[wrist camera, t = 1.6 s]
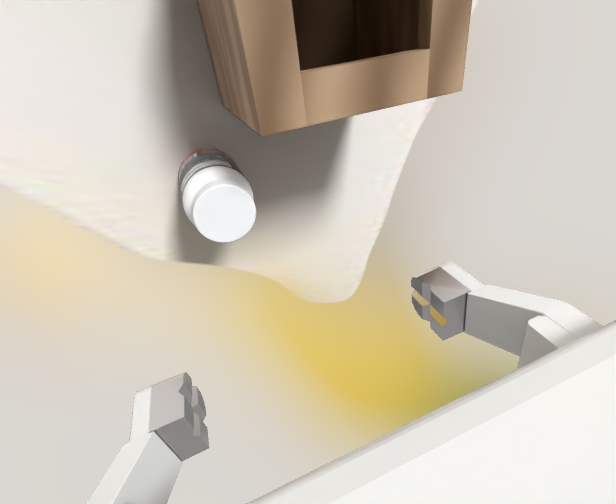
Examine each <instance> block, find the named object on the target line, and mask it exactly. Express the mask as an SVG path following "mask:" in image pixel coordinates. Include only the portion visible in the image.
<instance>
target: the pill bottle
mask: <svg viewBox="0 0 616 504" xmlns="http://www.w3.org/2000/svg"><path fill="white" fill-rule="evenodd" d="M178 180H179V186H180V192H181V197H182V203H183V208H184V211H185V213H186V215H187V217H188V218H189V220H190V221H191V222H192V223H193V224H194V225H195V226H196V228H197V229H198V231H199V232H200V233H201V234H202V235H203V236H204V237H206V238H208V239H210V240H212V241H215V242H223V243H225V242H232V241H235V240H238V239H240V238H241V237H243V236H244V235H246V234H247V233H248V232H249V230H250V229H251V228H252V226H253V224H254V222H255V218H256V207H255V203H254V197H253V192H252V188H251V186H250V184H249V182H248V181H247V179H246V178H245V177H244V175H243V174H242V172H241V171H240V170H239V168H238V167H237V165H236V164H235V163H234V161H233V160H232V159H231V158H230V157H229V156H228V155H226V154H225V153H223V152H221V151H219V150H215V149H200V150H197V151H194V152H192V153H191V154H189V155H188V156H187V157H186V158H185V159H184V160H183V162H182V164H181V166H180V168H179V173H178Z"/></svg>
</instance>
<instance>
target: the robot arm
mask: <svg viewBox="0 0 616 504" xmlns="http://www.w3.org/2000/svg"><path fill="white" fill-rule="evenodd" d="M411 286H412V287H413V288H414V289H415V290H414V292H413V294H412V303H413V305H414V308H415V310H416V311H417V313H418V314H419V315H420V317H421V318H422V319H424V320H427V321H430V323H431V328H432V330H433V331H435V333H436V334H437V335H438V336H439V337H440V338H441V339H442V340H445V339H447V338H450V337H452V336H454V335H457V334H459V333H461V332H465V333H467V334H469V335H472V336H474V337H476V338H478V339H481V340H483V341H485V342H487V343H490V344H492V345H495V346H497V347H499V348H501V349H504V350H506V351H509V352H511V353H513V354H516V355H518V356H520V358H519V362H518V367H517V369H516V370H514V371H512V372H511V373H508V374H506V375H504V376H502V377H500V378H498V379H497V380H494V381H492V382H490V383H488V384H486V385H484V386H482V387H480V388H478V389H476V390H474V391H472V392H470V393H468V394H466V395H464V396H462V397H460V398H458V399H456V400H454V401H452V402H450V403H448V404H446V405H444V406H442V407H440V408H438V409H436V410H434V411H432V412H430V413H428V414H426V415H424V416H422V417H420V418H418V419H416V420H414V421H412V422H410V423H408V424H406V425H404V426H402V427H400V428H398V429H396V430H394V431H392V432H390V433H388V434H386V435H384V436H382V437H380V438H378V439H376V440H374V441H372V442H370V443H368V444H366V445H364V446H362V447H360V448H358V449H356V450H354V451H352V452H350V453H348V454H346V455H344V456H342V457H340V458H338V459H336V460H333V461H331V462H330V463H327V464H325V465H323V466H321V467H319V468H317V469H315V470H313V471H311V472H309V473H307V474H306V475H304V476H301V477H300V478H298V479H295V480H294V481H291V482H289V483H287V484H285V485H284V486H281V487H279V488H277V489H275V490H273V491H272V492H269V493H267V494H265V495H263V496H261V497H259V498H257V499H255V500H253V501H251V502H249V503H247V504H616V320H615V321H613V322H611V323H609V324H607V325H605V326H602V325H601V324H599V323H598V322H596V321H594V320H593V319H591V318H590V317H588V316H586V315H585V314H583V313H582V312H580V311H579V310H577V309H576V308H574V307H572V306H571V305H569V304H568V303H566V302H563V301H559V300H555V299H550V298H546V297H542V296H537V295H533V294H528V293H524V292H520V291H515V290H511V289H506V288H502V287H497V286H493V285H489V284H487V285H485V286H484V285H483V284H481V283H480V282H479V281H477V280H476V279H475V278H473V277H472V276H471V275H469V274H468V273H467V272H465V271H464V270H463V269H461V268H460V267H459V266H457V265H456V264H454V263H453V262H450V261H449V262H447V263H445V264H442V265H440V266H438V267H435V268H433V269H430V270H428V271H426V272H423V273H421V274H419V275H416V276H414V277H412V280H411ZM205 416H206V411H205V405H204V401H203V398H202V396H201V393H200V391H199V390H198V388H197V387H195V386H192V382H191V378H190V376H189V375H188V374H187V373H182V374H180V375H177V376H174V377H172V378H169V379H167V380H164V381H162V382H159V383H157V384H154V385H152V386H150V387H147V388H145V389H142V390H139V391H137V393H136V394H135V397H134V405H133V414H132V424H131V432H130V441H129V442H128V443H126V444H124V445H123V447H122V449H121V450H120V452H119V453H118V455H117V456H116V458H115V460H114V461H113V463H112V464H111V466H110V467H109V469H108V471H107V472H106V474H105V475H104V477H103V479H102V480H101V482H100V483H99V485H98V486H97V488H96V489H95V491H94V492H93V494H92V496H91V497H90V499H89V500H88V502H87V503H86V504H167V501H168V499H169V496H170V493H171V491H172V489H173V486H174V484H175V481H176V478H177V476H178V473H179V471H180V468H181V465H182V461H183V460H185V459H188V458H190V457H192V456H194V455H196V454H198V453H200V452H202V451H204V450H206V449H208V448H209V442H208V432H207V431H208V430H207V427H206V426H205V424H204V423H203V420H204V418H205Z"/></svg>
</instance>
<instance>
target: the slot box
mask: <svg viewBox="0 0 616 504" xmlns="http://www.w3.org/2000/svg"><path fill="white" fill-rule="evenodd" d="M196 1H197V5H198V9H199V13H200V17H201V21H202V25H203V29H204V33H205V37H206V41H207V45H208V49H209V53H210V57H211V61H212V65H213V69H214V73H215V77H216V81H217V85H218V89H219V93H220V97H221V101H222V105H223V106H224V107H225V108H227V109H228V110H229V111H230V112H232V113H233V114H234V115H235V116H237V117H238V118H239V119H240V120H242V121H243V122H244V123H245V124H247V125H248V126H249V127H250V128H252V129H253V130H254V131H255V132H256V133H258V134H259V135H260V136H261V137H263V136H267V135H271V134H276V133H280V132H285V131H289V130H293V129H298V128H302V127H306V126H311V125H315V124H319V123H324V122H328V121H332V120H337V119H341V118H346V117H350V116H354V115H359V114H363V113H367V112H372V111H376V110H380V109H385V108H389V107H394V106H398V105H402V104H407V103H411V102H415V101H420V100H424V99H428V98H433V97H437V96H441V95H446V94H450V93H455V92H458V91H462V87H463V77H464V69H465V60H466V51H467V42H468V32H469V24H470V15H471V6H472V0H196Z"/></svg>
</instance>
